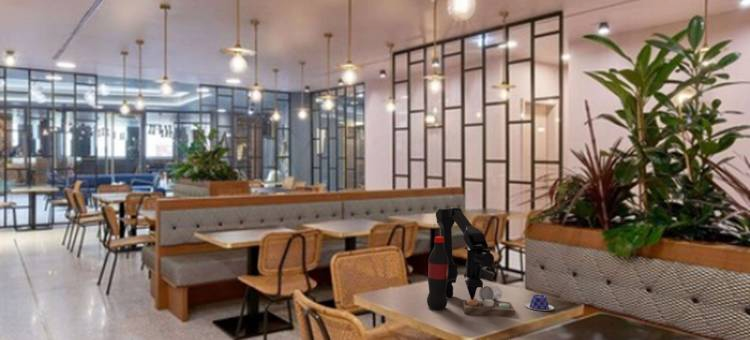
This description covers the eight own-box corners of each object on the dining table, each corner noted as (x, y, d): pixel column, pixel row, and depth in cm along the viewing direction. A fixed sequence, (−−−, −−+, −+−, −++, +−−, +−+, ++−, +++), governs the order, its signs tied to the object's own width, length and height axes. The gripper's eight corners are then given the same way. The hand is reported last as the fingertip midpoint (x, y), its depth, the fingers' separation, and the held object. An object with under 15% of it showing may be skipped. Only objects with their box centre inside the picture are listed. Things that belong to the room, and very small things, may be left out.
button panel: (464, 313, 215) (464, 307, 215) (462, 305, 227) (462, 299, 227) (514, 316, 214) (515, 310, 214) (509, 308, 226) (510, 302, 226)
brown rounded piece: (467, 307, 219) (467, 301, 219) (466, 304, 223) (466, 298, 223) (477, 308, 219) (478, 301, 219) (476, 305, 223) (477, 298, 223)
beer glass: (491, 282, 240) (482, 282, 227) (505, 289, 237) (497, 290, 224) (485, 296, 240) (475, 297, 227) (499, 303, 237) (490, 305, 224)
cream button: (483, 308, 219) (483, 302, 218) (481, 305, 223) (482, 299, 223) (494, 309, 218) (494, 302, 218) (492, 306, 222) (492, 299, 222)
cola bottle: (448, 306, 225) (451, 236, 224) (444, 312, 217) (447, 238, 216) (429, 304, 228) (431, 234, 227) (424, 309, 220) (427, 237, 219)
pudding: (551, 314, 220) (552, 301, 220) (522, 309, 226) (522, 297, 226) (555, 306, 231) (556, 295, 231) (527, 302, 237) (528, 290, 236)
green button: (499, 312, 218) (499, 305, 218) (497, 309, 222) (497, 302, 222) (510, 313, 218) (510, 306, 217) (508, 310, 222) (508, 303, 222)
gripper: (496, 267, 211) (495, 306, 211) (490, 258, 229) (489, 294, 230) (468, 266, 212) (466, 305, 212) (464, 257, 230) (463, 293, 231)
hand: (472, 299), depth 221 cm, fingers closed
